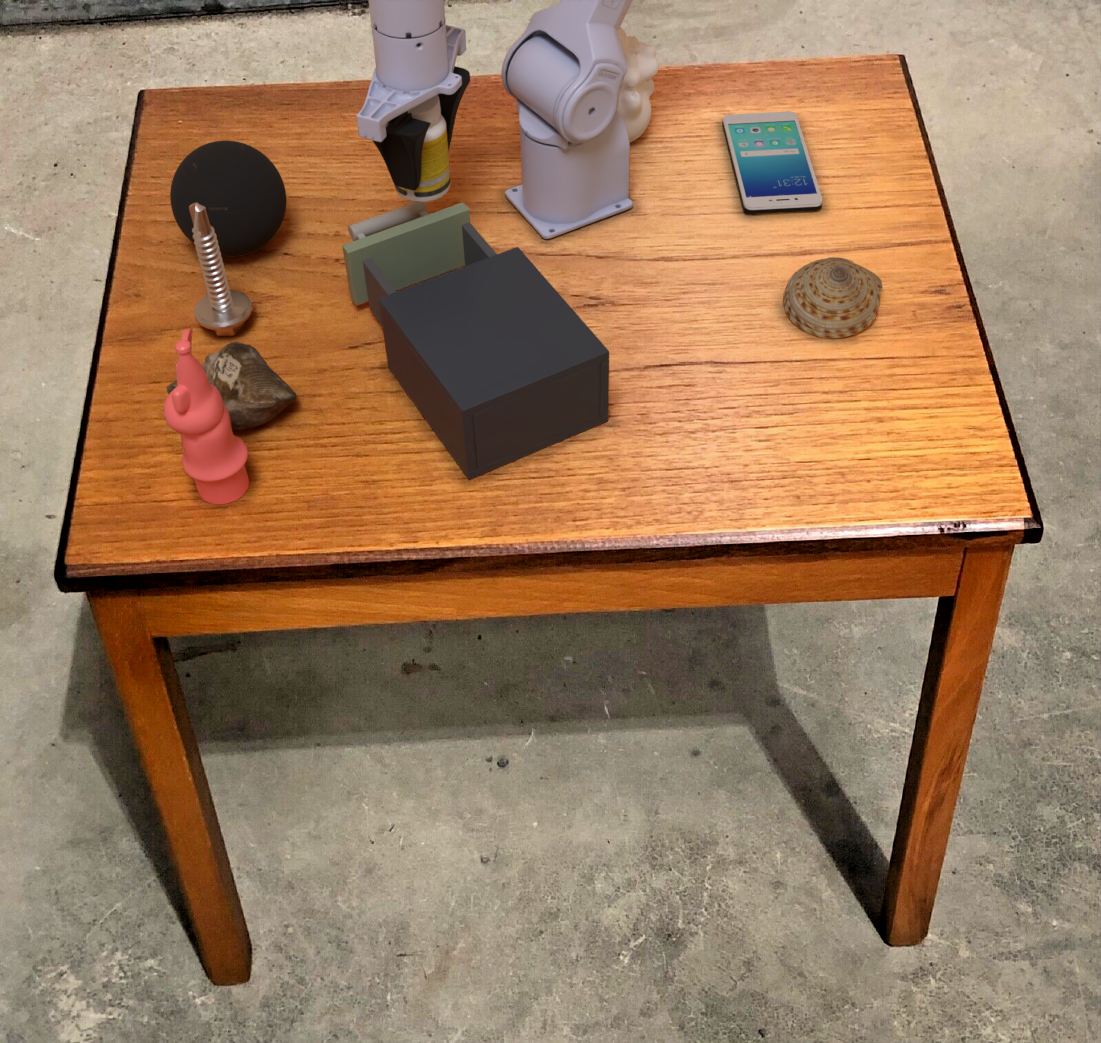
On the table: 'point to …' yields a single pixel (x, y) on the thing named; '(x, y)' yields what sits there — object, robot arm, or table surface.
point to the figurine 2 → (636, 84)
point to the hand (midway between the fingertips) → (421, 168)
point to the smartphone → (771, 163)
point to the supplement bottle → (431, 155)
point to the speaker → (230, 195)
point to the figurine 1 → (205, 431)
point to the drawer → (408, 250)
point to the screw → (216, 282)
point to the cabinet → (495, 361)
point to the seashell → (832, 297)
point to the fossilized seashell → (246, 385)
